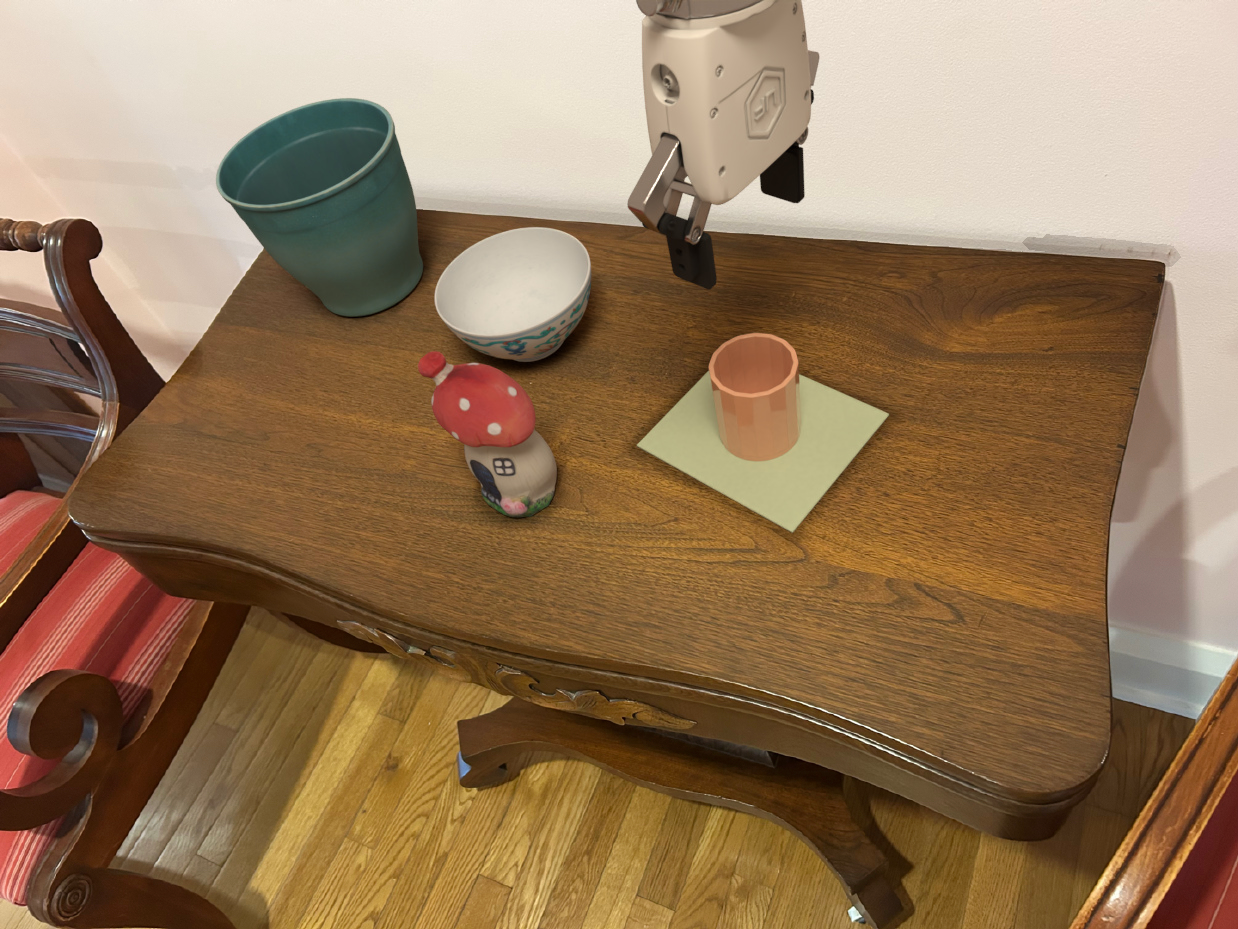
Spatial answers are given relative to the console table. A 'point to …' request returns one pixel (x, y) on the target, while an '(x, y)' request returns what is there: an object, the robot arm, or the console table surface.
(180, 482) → the console table surface
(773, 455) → the cup
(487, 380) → the decorative ornament
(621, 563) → the console table surface
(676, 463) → the mat
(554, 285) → the chinaware
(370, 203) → the flower pot
